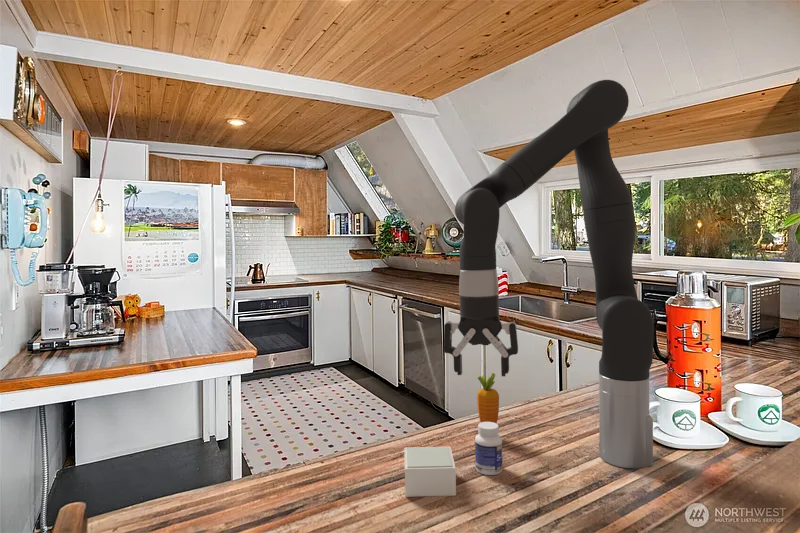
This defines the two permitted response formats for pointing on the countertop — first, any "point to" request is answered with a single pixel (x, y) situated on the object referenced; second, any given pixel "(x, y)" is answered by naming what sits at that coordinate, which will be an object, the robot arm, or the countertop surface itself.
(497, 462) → the pill bottle
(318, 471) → the countertop surface
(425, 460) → the pedestal
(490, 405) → the carrot
